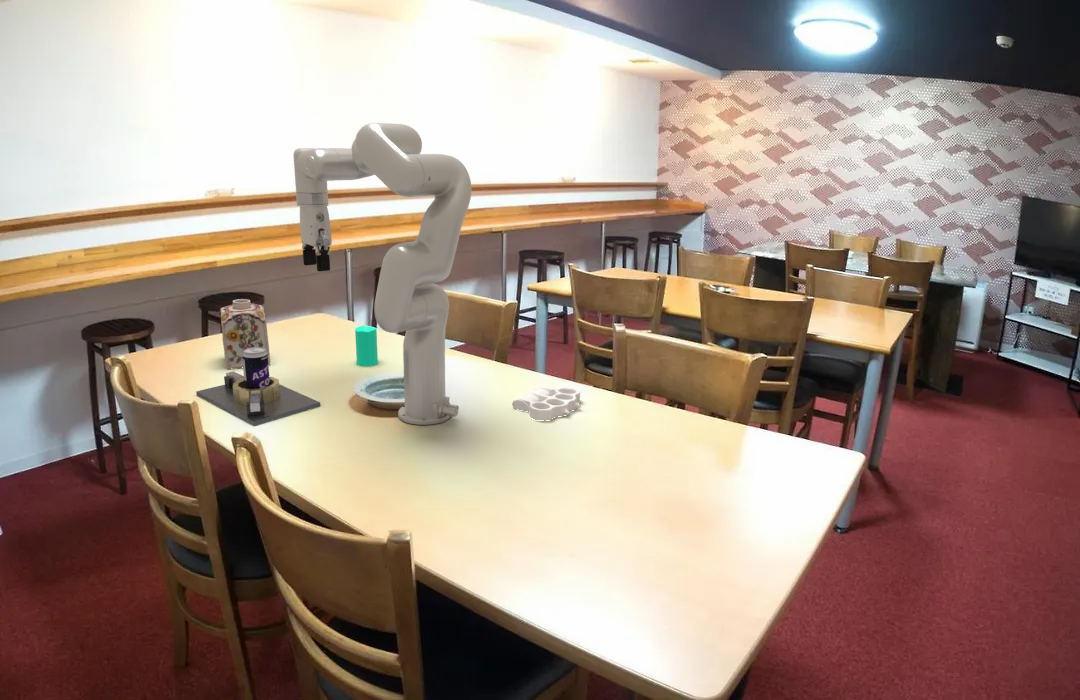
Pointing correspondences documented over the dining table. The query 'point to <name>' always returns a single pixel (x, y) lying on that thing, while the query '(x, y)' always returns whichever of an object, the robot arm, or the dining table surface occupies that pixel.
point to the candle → (366, 345)
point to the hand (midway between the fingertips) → (316, 267)
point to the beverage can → (256, 368)
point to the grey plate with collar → (256, 400)
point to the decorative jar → (242, 330)
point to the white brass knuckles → (548, 402)
